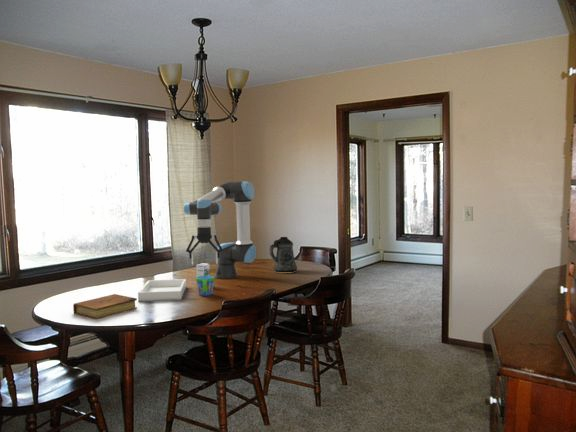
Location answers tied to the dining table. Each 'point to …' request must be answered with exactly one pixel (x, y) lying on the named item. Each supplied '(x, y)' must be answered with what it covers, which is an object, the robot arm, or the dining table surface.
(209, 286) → the snack cup
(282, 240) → the beer stein
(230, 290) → the dining table surface
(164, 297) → the tote
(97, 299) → the diary
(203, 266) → the syrup box
